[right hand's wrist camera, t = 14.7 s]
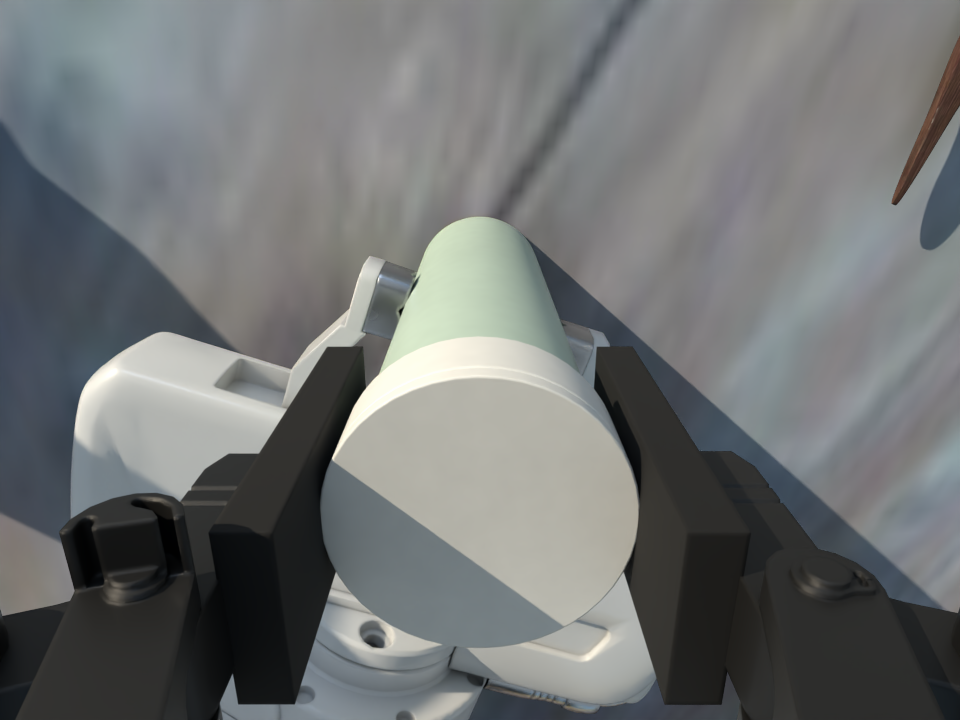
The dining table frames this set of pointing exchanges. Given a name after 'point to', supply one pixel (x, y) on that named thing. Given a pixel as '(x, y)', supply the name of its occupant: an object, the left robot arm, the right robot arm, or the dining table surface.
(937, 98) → the fork
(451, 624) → the lid
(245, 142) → the dining table surface
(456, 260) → the light green cylinder
